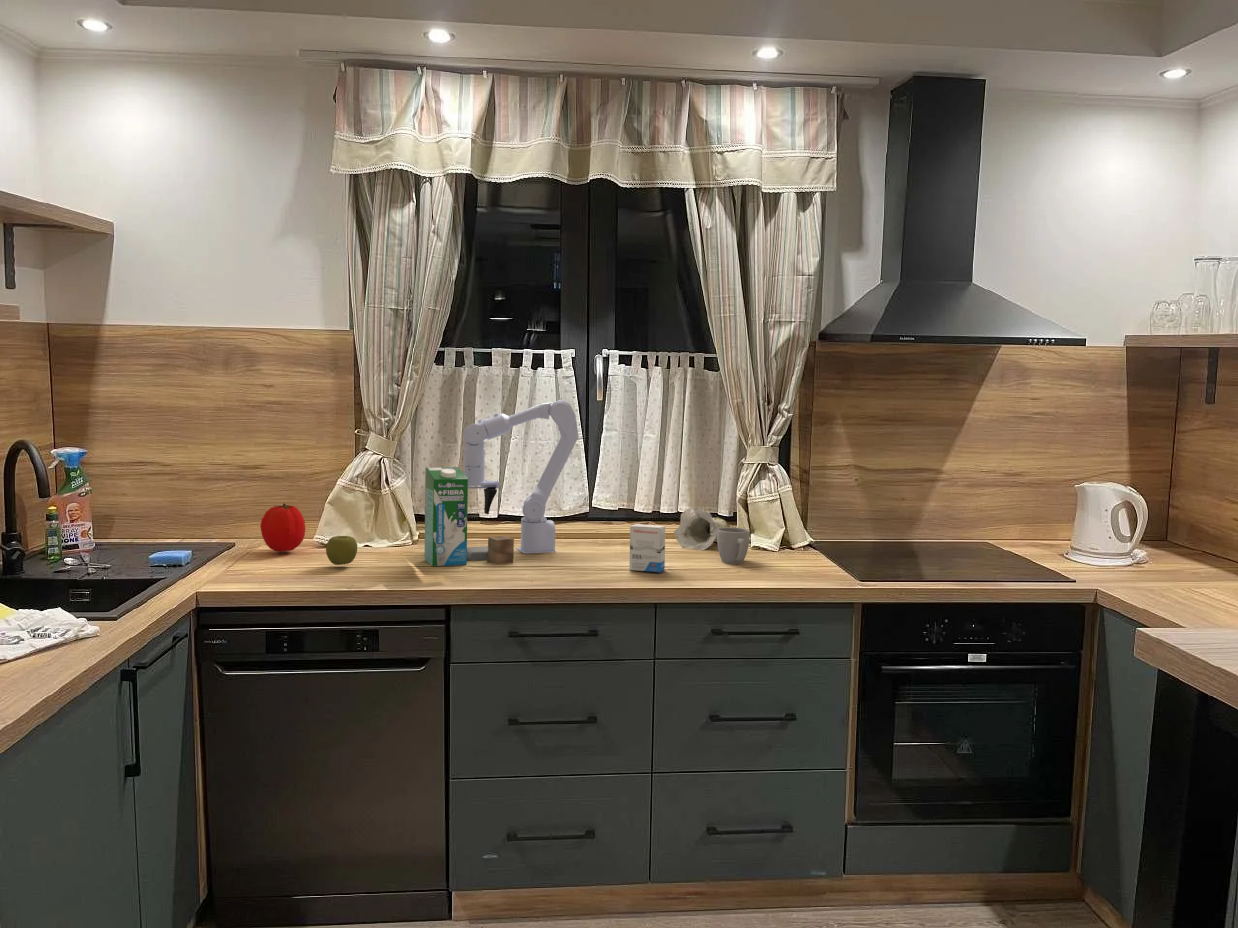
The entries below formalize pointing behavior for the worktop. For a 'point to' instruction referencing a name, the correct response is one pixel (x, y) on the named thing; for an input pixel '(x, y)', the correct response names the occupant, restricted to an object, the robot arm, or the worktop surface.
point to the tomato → (283, 528)
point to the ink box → (647, 548)
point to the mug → (733, 544)
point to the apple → (341, 549)
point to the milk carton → (446, 516)
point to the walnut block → (500, 550)
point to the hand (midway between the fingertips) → (473, 514)
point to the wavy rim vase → (698, 529)
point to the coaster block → (477, 553)
